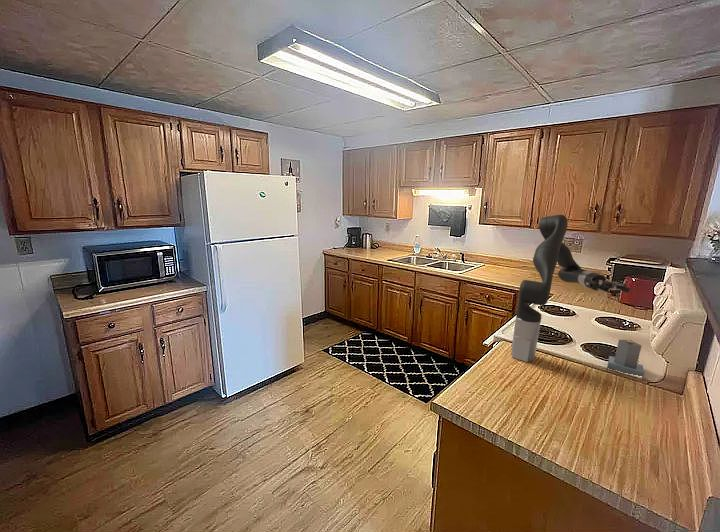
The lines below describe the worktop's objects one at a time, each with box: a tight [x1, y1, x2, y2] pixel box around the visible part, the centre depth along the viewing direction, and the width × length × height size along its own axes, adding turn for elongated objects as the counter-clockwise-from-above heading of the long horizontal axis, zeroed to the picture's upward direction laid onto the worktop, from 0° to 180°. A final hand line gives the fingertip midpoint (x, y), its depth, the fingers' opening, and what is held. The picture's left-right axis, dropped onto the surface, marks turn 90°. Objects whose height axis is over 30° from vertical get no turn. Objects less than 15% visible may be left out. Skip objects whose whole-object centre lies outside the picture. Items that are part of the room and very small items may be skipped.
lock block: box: [614, 339, 642, 369], centre depth 130 cm, size 5×5×11 cm
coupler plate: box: [606, 355, 645, 378], centre depth 131 cm, size 12×11×3 cm
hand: (618, 290), depth 136 cm, fingers open, 8 cm apart
